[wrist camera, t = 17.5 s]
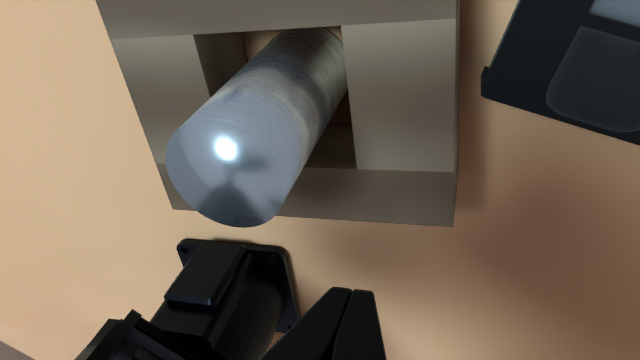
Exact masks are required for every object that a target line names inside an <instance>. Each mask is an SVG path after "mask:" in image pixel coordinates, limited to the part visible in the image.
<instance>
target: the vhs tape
mask: <svg viewBox="0 0 640 360" xmlns="http://www.w3.org/2000/svg"><path fill="white" fill-rule="evenodd" d="M481 96H482V97H484V98H487V99H490V100H493V101H497V102H500V103H503V104H506V105H510V106H513V107H516V108H520V109H523V110H526V111H529V112H533V113H536V114H539V115H542V116H546V117H549V118H552V119H555V120H559V121H562V122H565V123H568V124H572V125H575V126H578V127H582V128H585V129H588V130H591V131H595V132H598V133H601V134H604V135H608V136H611V137H614V138H617V139H621V140H624V141H627V142H630V143H634V144H637V145H640V0H519V1H518V3H517V5H516V8H515V10H514V12H513V14H512V17H511V19H510V21H509V23H508V26H507V28H506V30H505V32H504V35H503V37H502V39H501V41H500V44H499V46H498V48H497V51H496V53H495V55H494V57H493V60H492V62H491V64H490V66H489V67H486V66H485V67H484V70H483V72H482V75H481Z"/></svg>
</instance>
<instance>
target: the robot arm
mask: <svg viewBox="0 0 640 360" xmlns="http://www.w3.org/2000/svg"><path fill="white" fill-rule="evenodd" d="M177 251H178V254H179V257H180V259H181V262H182V264H183V267H184V268H183V269H182V271H181V272H180V274H179V275H178V276H177V278H176V279H175V281H174V282H173V283H172V285H171V286H170V288H169V289H168V290H167V292H166V293H165V295H164V299H165V301H164V302H163V303H162V305H161V306H160V308H159V309H158V310H157V312H156V313H155V315H154V316H153V318H152V319H151V320H150V322H148V321H147V320H145V319H144V318H142V317H141V316H142V315H141V314H140V313H138V312H136V311H135V310H133V309H132V310H131V311H130V313H129V314H128V315H127V316H126V318H125V319H124V320H123V319H121V320H116V319H108V320H107V322H106V323H105V324H104V326H103V327H102V328H101V329H100V331H99V332H98V333H97V334H96V336H95V337H94V338H93V339H92V341H91V342H90V343H89V344H88V345H87V347H86V348H85V349H84V350H83V351H82V352H81V353H80V354H79V355H78V356H77V358H76V359H75V360H386V354H385V349H384V344H383V339H382V334H381V328H380V323H379V318H378V313H377V308H376V302H375V297H374V293H373V292H372V291H367V290H358V289H355V290H353V291H352V290H351V289H349V288H341V287H332V288H330V289H329V290H328V291H327V292H326V293H325V294H324V295H323V296H322V297H321V298H320V299H319V300H318V301H317V302H316V303H315V304H314V305H313V306H312V307H311V308H310V309H309V310H308V311H307V312H306V313H305V314H304V315H303V316H302V317H301V318H300V314H299V310H298V305H297V301H296V296H295V292H294V288H293V283H292V279H291V275H290V270H289V266H288V262H287V257H286V254H285V252H284V251H283V250H282V249H280V248H278V247H272V246H260V245H248V244H236V243H224V242H212V241H200V240H188V239H183V240H181V241H180V243H179V244H178V245H177ZM274 255H275V256H277V257H275V256H274ZM275 332H281V333H285V334H284V335H283V336H282V337H281V338H280V339H279V340H278V341H277V342H276V343H275V344H274V345H273V346H272V347H271V348H270V349H269V350H268V347H269V345H270V343H271V340H272V338H273V336H274V333H275ZM267 350H268V351H267Z"/></svg>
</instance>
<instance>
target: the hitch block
mask: <svg viewBox="0 0 640 360" xmlns="http://www.w3.org/2000/svg"><path fill="white" fill-rule="evenodd" d="M96 3H97V6H98V8H99V11H100V14H101V17H102V19H103V22H104V25H105V27H106V30H107V33H108V35H109V38H110V41H111V44H112V46H113V49H114V52H115V54H116V57H117V60H118V62H119V65H120V68H121V71H122V73H123V76H124V79H125V81H126V84H127V87H128V90H129V92H130V95H131V98H132V100H133V103H134V106H135V108H136V111H137V114H138V117H139V119H140V122H141V125H142V127H143V130H144V133H145V135H146V138H147V141H148V144H149V146H150V149H151V152H152V154H153V157H154V160H155V162H156V165H157V168H158V171H159V173H160V176H161V179H162V181H163V184H164V187H165V190H166V192H167V195H168V198H169V200H170V203H171V206H172V208H173V209H176V210H192V211H196V210H195V209H194V208H193V207H191V206H190V205H189V204H188V203H187V202H186V201H185V200H184V199H183V198H182V197H181V195H180V194H179V193H178V191H177V190H176V188H175V187H174V185H173V183H172V181H171V179H170V177H169V174H168V172H167V167H166V161H165V153H166V147H167V144H168V141H169V139H170V138H171V136H172V135H173V133H174V132H175V131H176V130H177V129H178V128H179V127H181V126H182V125H183V124H184V123H185V122H186V121H187V120H188V119H189V118H190V117H191V116H192V115H193V114H194V113H195V112H196V111H197V110H198V109H199V108H200V107H202V106H203V105H204V104H205V103H206V102H207V101H208V100H209V99H210V98H211V97H212V96H213V95H214V94H215V93H216V92H217V91H218V90H219V89H220V88H221V87H222V86H224V85H225V84H226V83H227V82H228V81H229V80H230V79H231V78H232V77H233V76H234V75H235V74H236V73H237V72H238V71H239V70H240V69H241V68H242V67H243V66H245V65H246V64H247V59H246V55H245V50H244V46H243V41H242V37H241V32H244V31H261V30H277V29H294V28H310V27H326V26H341V31H342V40H343V49H344V57H345V66H346V75H347V84H348V93H349V102H350V111H351V120H352V125H327V126H326V128H325V129H324V131H323V133H322V135H321V137H320V138H319V140H318V142H317V144H316V146H315V147H314V149H313V151H312V153H311V154H310V156H309V158H308V160H307V162H306V163H305V165H304V167H303V169H302V171H301V172H300V174H299V176H298V178H297V179H296V181H295V183H294V185H293V187H292V188H291V190H290V192H289V194H288V195H287V197H286V199H285V201H284V203H283V204H282V206H281V208H280V210H279V211H278V212H277V214H276V215H275V216H287V217H303V218H319V219H335V220H351V221H366V222H382V223H398V224H414V225H430V226H446V227H453V223H454V211H455V199H456V187H457V175H458V119H459V63H460V6H461V0H96Z"/></svg>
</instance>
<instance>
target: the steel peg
mask: <svg viewBox="0 0 640 360" xmlns="http://www.w3.org/2000/svg"><path fill="white" fill-rule="evenodd" d="M347 88H348V84H347V75H346V66H345V57H344V49H343V44H342V43H341V42H340V41H339V39H338V38H337V37H336V36H334V35H333V34H332V33H331V32H329V31H328V30H326V29H324V28H322V27H310V28H294V29H283V30H282V31H280V32H279V33H278V34H277V35H276V36H275V37H274V38H273V39H272V40H271V41H270V42H269V43H268V44H267V45H265V46H264V47H263V48H262V49H261V50H260V51H259V52H258V53H257V54H256V55H255V56H254V57H253V58H252V59H251V60H250V61H249V62H248V63H247V64H246V65H245V66H243V67H242V68H241V69H240V70H239V71H238V72H237V73H236V74H235V75H234V76H233V77H232V78H231V79H230V80H229V81H228V82H227V83H226V84H225V85H224V86H222V87H221V88H220V89H219V90H218V91H217V92H216V93H215V94H214V95H213V96H212V97H211V98H210V99H209V100H208V101H207V102H206V103H205V104H204V105H203V106H202V107H200V108H199V109H198V110H197V111H196V112H195V113H194V114H193V115H192V116H191V117H190V118H189V119H188V120H187V121H186V122H185V123H184V124H183V125H182V126H181V127H179V128H178V129H177V130H176V131H175V132H174V133H173V135H172V136H171V138H170V139H169V141H168V144H167V147H166V153H165V161H166V167H167V172H168V174H169V177H170V179H171V181H172V183H173V185H174V187H175V188H176V190H177V191H178V193H179V194H180V195H181V197H182V198H183V199H184V200H185V201H186V202H187V203H188V204H189V205H190V206H191V207H193V208H194V209H195V210H196V211H198V212H199V213H201V214H202V215H204V216H205V217H207V218H209V219H211V220H213V221H216V222H218V223H221V224H224V225H228V226H233V227H254V226H258V225H261V224H263V223H266V222H267V221H269V220H270V219H272V218H273V217H274V216H275V215H276V214H277V212H278V211H279V210H280V208H281V206H282V204H283V203H284V201H285V199H286V197H287V195H288V194H289V192H290V190H291V188H292V187H293V185H294V183H295V181H296V179H297V178H298V176H299V174H300V172H301V171H302V169H303V167H304V165H305V163H306V162H307V160H308V158H309V156H310V154H311V153H312V151H313V149H314V147H315V146H316V144H317V142H318V140H319V138H320V137H321V135H322V133H323V131H324V129H325V128H326V126H327V124H328V122H329V121H330V119H331V117H332V115H333V113H334V112H335V110H336V108H337V106H338V105H339V103H340V101H341V99H342V97H343V96H344V94H345V92H346V90H347Z"/></svg>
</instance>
